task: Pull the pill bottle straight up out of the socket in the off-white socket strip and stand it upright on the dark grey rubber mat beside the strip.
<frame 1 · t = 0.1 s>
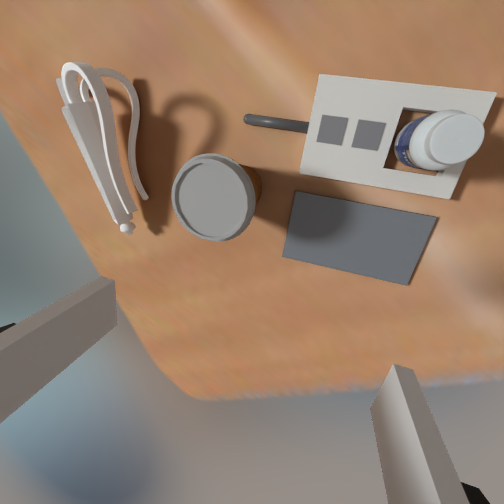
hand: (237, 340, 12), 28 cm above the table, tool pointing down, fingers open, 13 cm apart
pill bottle: (417, 143, 31), resting in socket strip
socket strip: (382, 138, 31), on the table
disposable coffee cup: (241, 187, 38), on the table
rubber mat: (351, 237, 36), on the table
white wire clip: (134, 154, 41), on the table
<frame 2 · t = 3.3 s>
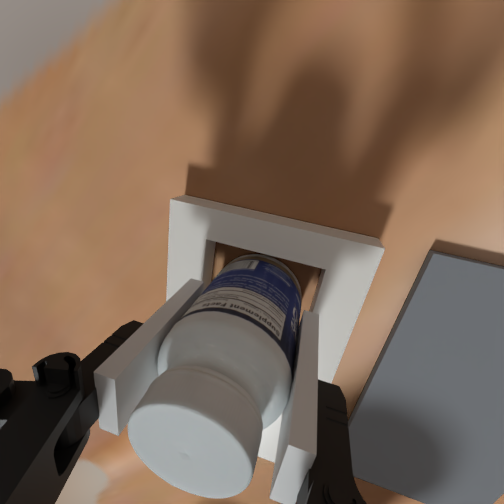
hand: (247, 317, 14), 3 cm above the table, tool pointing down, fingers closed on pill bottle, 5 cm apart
pill bottle: (260, 289, 16), resting in socket strip, touching gripper
socket strip: (249, 340, 18), on the table
rubber mat: (453, 404, 16), on the table
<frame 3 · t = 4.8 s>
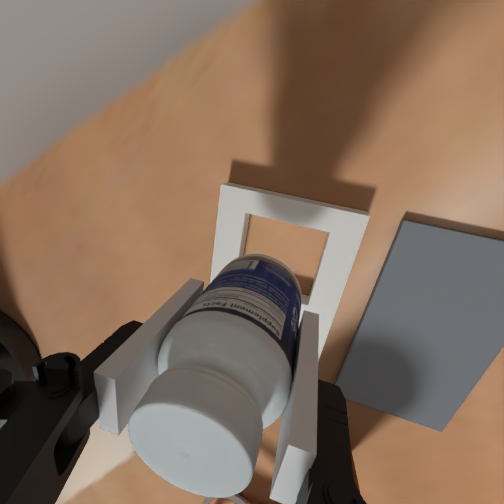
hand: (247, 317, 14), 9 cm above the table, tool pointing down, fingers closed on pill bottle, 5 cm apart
pill bottle: (260, 289, 16), point 6 cm above the table, touching gripper
socket strip: (272, 292, 24), on the table
rubber mat: (423, 335, 21), on the table
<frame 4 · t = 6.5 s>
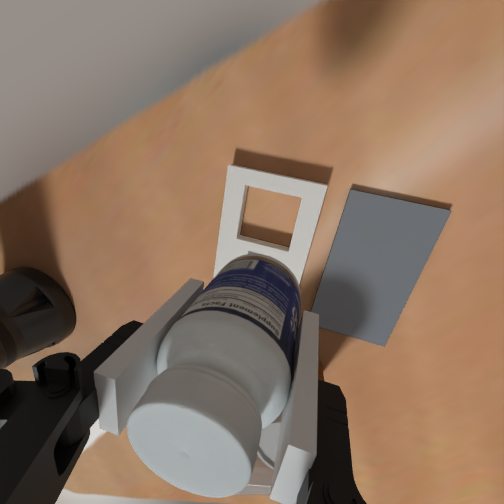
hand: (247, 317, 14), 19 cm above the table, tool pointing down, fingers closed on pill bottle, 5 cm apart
pill bottle: (259, 289, 16), point 16 cm above the table, touching gripper
socket strip: (263, 246, 33), on the table
disposable coffee cup: (300, 365, 38), on the table
rubber mat: (368, 273, 31), on the table
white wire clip: (267, 435, 46), on the table
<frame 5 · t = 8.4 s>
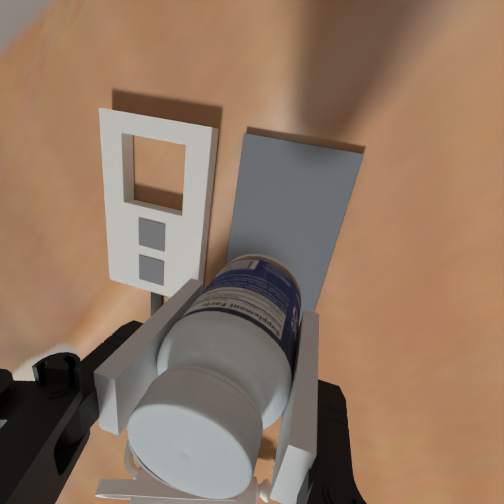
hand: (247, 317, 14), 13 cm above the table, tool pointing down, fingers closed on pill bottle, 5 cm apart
pill bottle: (260, 289, 16), point 10 cm above the table, touching gripper
socket strip: (161, 212, 27), on the table
rubber mat: (280, 241, 25), on the table
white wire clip: (201, 439, 40), on the table
when the fingers open (5 cm above the table, at t = 10.0 s): pill bottle drops 2 cm, resting on rubber mat.
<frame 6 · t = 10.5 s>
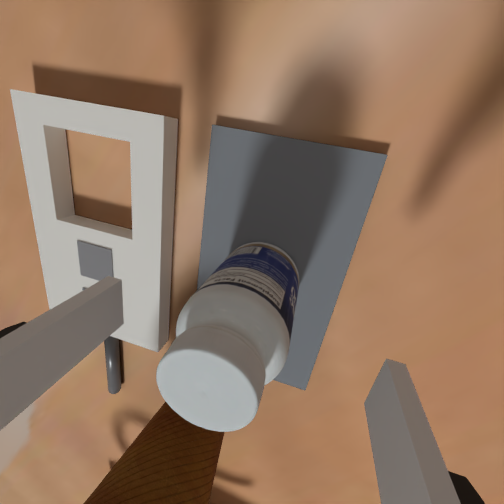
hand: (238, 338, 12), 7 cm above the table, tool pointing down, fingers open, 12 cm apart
pill bottle: (262, 275, 18), resting on rubber mat
socket strip: (110, 232, 21), on the table
disposable coffee cup: (198, 409, 26), on the table
rubber mat: (267, 274, 18), on the table
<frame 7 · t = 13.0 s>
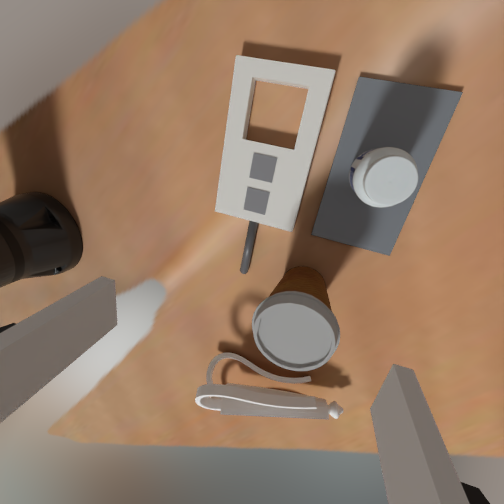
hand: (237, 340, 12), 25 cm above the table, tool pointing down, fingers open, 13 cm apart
pill bottle: (372, 173, 30), resting on rubber mat
socket strip: (269, 151, 33), on the table
disposable coffee cup: (303, 285, 38), on the table
rubber mat: (375, 173, 30), on the table
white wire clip: (270, 371, 46), on the table
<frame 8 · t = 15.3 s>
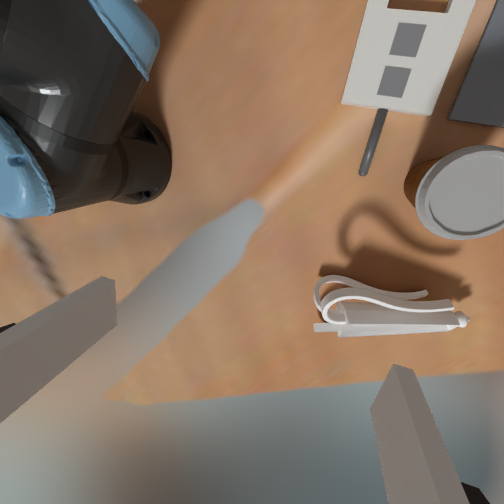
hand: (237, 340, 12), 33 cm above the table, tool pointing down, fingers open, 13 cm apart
socket strip: (409, 25, 31), on the table
disposable coffee cup: (428, 183, 36), on the table
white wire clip: (376, 292, 44), on the table
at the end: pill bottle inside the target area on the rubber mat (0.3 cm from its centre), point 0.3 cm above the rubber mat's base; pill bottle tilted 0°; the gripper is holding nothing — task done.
